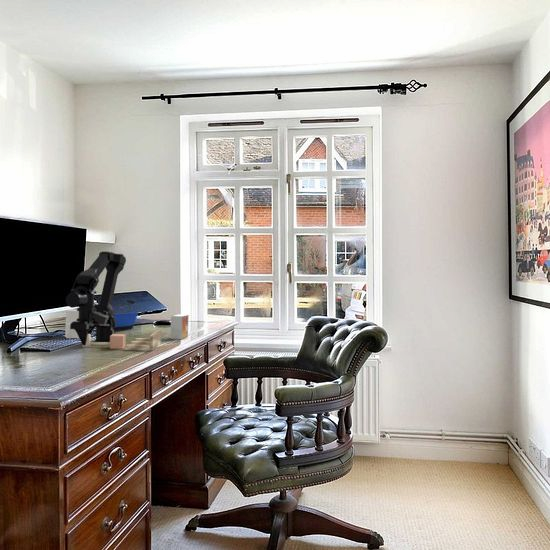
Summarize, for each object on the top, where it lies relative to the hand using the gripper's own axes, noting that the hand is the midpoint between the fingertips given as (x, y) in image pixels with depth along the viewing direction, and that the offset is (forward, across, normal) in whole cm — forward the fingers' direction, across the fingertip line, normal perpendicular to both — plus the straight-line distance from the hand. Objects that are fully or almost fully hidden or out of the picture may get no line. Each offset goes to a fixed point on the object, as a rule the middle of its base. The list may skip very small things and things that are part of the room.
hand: (85, 344), depth 203 cm
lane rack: (+1, +4, -22) cm, 23 cm away
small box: (+1, +29, -33) cm, 44 cm away
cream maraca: (+1, 0, -7) cm, 7 cm away
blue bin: (+2, +50, +1) cm, 50 cm away
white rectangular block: (+1, +24, +12) cm, 27 cm away
